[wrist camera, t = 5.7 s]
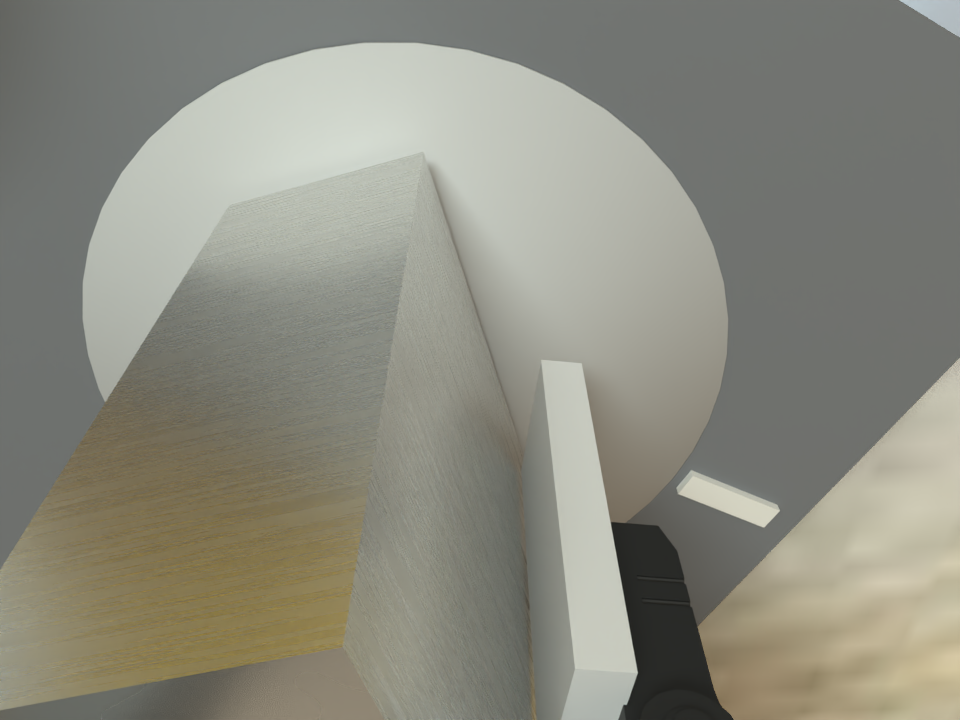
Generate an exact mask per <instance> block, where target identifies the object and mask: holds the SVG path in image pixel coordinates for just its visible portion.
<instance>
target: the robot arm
mask: <svg viewBox="0 0 960 720" xmlns="http://www.w3.org/2000/svg"><path fill="white" fill-rule="evenodd" d="M521 477H522V493H523V509H524V525H525V541H526V557H527V574H528V590H529V606H530V622H531V638H532V654H533V670H534V686H535V702H536V719H537V720H733V718H732V716H731V715H730V714H729V713H728V712H727V711H726V710H724V709H723V708H722V706H721V705H720V703H719V701H718V699H717V696H716V694H715V691H714V689H713V685H712V681H711V677H710V673H709V670H708V666H707V662H706V658H705V654H704V651H703V647H702V643H701V639H700V635H699V632H698V628H697V624H696V620H695V616H694V613H693V609H692V607H690V597H689V594H688V590H687V586H686V584H684V579H685V578H684V574H683V571H682V567H681V563H680V559H679V555H678V552H677V550H676V549H675V547H674V546H673V545H672V543H671V542H670V541H669V539H668V538H667V537H666V535H665V534H664V533H663V531H662V530H661V529H660V527H659V526H657V525H644V524H631V523H618V522H610V517H609V511H608V506H607V500H606V495H605V489H604V484H603V478H602V473H601V467H600V461H599V456H598V450H597V445H596V439H595V434H594V428H593V423H592V417H591V412H590V406H589V401H588V395H587V390H586V384H585V379H584V373H583V368H582V363H573V362H562V361H551V360H541V363H540V368H539V374H538V380H537V385H536V391H535V396H534V402H533V407H532V413H531V419H530V424H529V430H528V435H527V441H526V446H525V452H524V458H523V463H522V469H521Z"/></svg>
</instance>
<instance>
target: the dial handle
mask: <svg viewBox="0 0 960 720" xmlns="http://www.w3.org/2000/svg"><path fill="white" fill-rule="evenodd" d="M523 458H524V456H523V453H522V450H521V447H520V444H519V441H518V438H517V435H516V432H515V429H514V426H513V423H512V420H511V417H510V414H509V410H508V407H507V404H506V401H505V398H504V395H503V392H502V389H501V386H500V383H499V380H498V377H497V374H496V371H495V368H494V365H493V362H492V359H491V356H490V353H489V349H488V346H487V343H486V340H485V337H484V334H483V331H482V328H481V325H480V322H479V319H478V316H477V313H476V310H475V307H474V304H473V301H472V298H471V295H470V292H469V288H468V285H467V282H466V279H465V276H464V273H463V270H462V267H461V264H460V261H459V258H458V255H457V252H456V249H455V246H454V243H453V240H452V237H451V234H450V231H449V227H448V224H447V221H446V218H445V215H444V212H443V209H442V206H441V203H440V200H439V197H438V194H437V191H436V188H435V185H434V182H433V179H432V176H431V173H430V169H429V166H428V163H427V160H426V157H425V154H424V152H420V153H417V154H413V155H410V156H406V157H402V158H399V159H395V160H391V161H388V162H384V163H380V164H377V165H373V166H370V167H366V168H362V169H359V170H355V171H351V172H348V173H344V174H341V175H337V176H333V177H330V178H326V179H322V180H319V181H315V182H311V183H308V184H304V185H301V186H297V187H293V188H290V189H286V190H282V191H279V192H275V193H272V194H268V195H264V196H261V197H257V198H253V199H250V200H246V201H242V202H239V203H235V204H232V205H229V206H228V208H227V209H226V211H225V213H224V214H223V216H222V217H221V219H220V221H219V222H218V224H217V225H216V227H215V228H214V230H213V232H212V233H211V235H210V236H209V238H208V240H207V241H206V243H205V244H204V246H203V248H202V249H201V251H200V252H199V254H198V256H197V257H196V259H195V260H194V262H193V264H192V265H191V267H190V268H189V270H188V271H187V273H186V275H185V276H184V278H183V279H182V281H181V283H180V284H179V286H178V287H177V289H176V291H175V292H174V294H173V295H172V297H171V299H170V300H169V302H168V303H167V305H166V307H165V308H164V310H163V311H162V313H161V314H160V316H159V318H158V319H157V321H156V322H155V324H154V326H153V327H152V329H151V330H150V332H149V334H148V335H147V337H146V338H145V340H144V342H143V343H142V345H141V346H140V348H139V350H138V351H137V353H136V354H135V356H134V358H133V359H132V361H131V362H130V364H129V365H128V367H127V369H126V370H125V372H124V373H123V375H122V377H121V378H120V380H119V381H118V383H117V385H116V386H115V388H114V389H113V391H112V393H111V394H110V396H109V397H108V399H107V401H106V402H105V404H104V405H103V407H102V408H101V410H100V412H99V413H98V415H97V416H96V418H95V420H94V421H93V423H92V424H91V426H90V428H89V429H88V431H87V432H86V434H85V436H84V437H83V439H82V440H81V442H80V444H79V445H78V447H77V448H76V450H75V451H74V453H73V455H72V456H71V458H70V459H69V461H68V463H67V464H66V466H65V467H64V469H63V471H62V472H61V474H60V475H59V477H58V479H57V480H56V482H55V483H54V485H53V487H52V488H51V490H50V491H49V493H48V494H47V496H46V498H45V499H44V501H43V502H42V504H41V506H40V507H39V509H38V510H37V512H36V514H35V515H34V517H33V518H32V520H31V522H30V523H29V525H28V526H27V528H26V530H25V531H24V533H23V534H22V536H21V537H20V539H19V541H18V542H17V544H16V545H15V547H14V549H13V550H12V552H11V553H10V555H9V557H8V558H7V560H6V561H5V563H4V565H3V566H2V568H1V569H0V720H537V719H536V702H535V686H534V670H533V654H532V638H531V622H530V606H529V590H528V574H527V557H526V541H525V525H524V509H523V493H522V477H521V469H522V463H523Z"/></svg>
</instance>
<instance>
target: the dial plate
mask: <svg viewBox="0 0 960 720" xmlns="http://www.w3.org/2000/svg"><path fill="white" fill-rule="evenodd" d="M420 152H424V154H425V157H426V160H427V163H428V166H429V169H430V173H431V176H432V179H433V182H434V185H435V188H436V191H437V194H438V197H439V200H440V203H441V206H442V209H443V212H444V215H445V218H446V221H447V224H448V227H449V231H450V234H451V237H452V240H453V243H454V246H455V249H456V252H457V255H458V258H459V261H460V264H461V267H462V270H463V273H464V276H465V279H466V282H467V285H468V288H469V292H470V295H471V298H472V301H473V304H474V307H475V310H476V313H477V316H478V319H479V322H480V325H481V328H482V331H483V334H484V337H485V340H486V343H487V346H488V349H489V353H490V356H491V359H492V362H493V365H494V368H495V371H496V374H497V377H498V380H499V383H500V386H501V389H502V392H503V395H504V398H505V401H506V404H507V407H508V410H509V414H510V417H511V420H512V423H513V426H514V429H515V432H516V435H517V438H518V441H519V444H520V447H521V450H522V453H523V456H524V452H525V446H526V441H527V435H528V430H529V424H530V419H531V413H532V407H533V402H534V396H535V391H536V385H537V380H538V374H539V368H540V363H541V360H551V361H562V362H573V363H582V368H583V373H584V379H585V384H586V390H587V395H588V401H589V406H590V412H591V417H592V423H593V428H594V434H595V439H596V445H597V450H598V456H599V461H600V467H601V473H602V478H603V484H604V489H605V495H606V500H607V506H608V511H609V517H610V522H618V523H631V524H644V525H657V526H659V527H660V529H661V530H662V531H663V533H664V534H665V535H666V537H667V538H668V539H669V541H670V542H671V543H672V545H673V546H674V547H675V549H676V550H677V552H678V555H679V559H680V563H681V567H682V571H683V574H684V578H685V579H684V584H686V586H687V590H688V594H689V597H690V607H692V609H693V613H694V616H695V620H696V624H697V626H698V625H699V624H700V623H701V622H702V621H703V620H704V619H705V618H706V617H707V616H708V615H709V614H710V613H711V612H712V611H713V610H714V609H715V608H716V607H717V606H718V605H719V604H720V603H721V602H722V600H723V599H724V598H725V597H726V596H727V595H728V594H729V593H730V592H731V591H732V590H733V589H734V588H735V587H736V586H737V585H738V584H739V583H740V582H741V581H742V580H743V579H744V578H745V577H746V576H747V575H748V574H749V573H750V572H751V571H752V570H753V569H754V568H755V567H756V566H757V565H758V564H759V563H760V562H761V561H762V559H763V558H764V557H765V556H766V555H767V554H768V553H769V552H770V551H771V550H772V549H773V548H774V547H775V546H776V545H777V544H778V543H779V542H780V541H781V540H782V539H783V538H784V537H785V536H786V535H787V534H788V533H789V532H790V531H791V530H792V529H793V528H794V527H795V526H796V525H797V524H798V523H799V522H800V521H801V520H802V519H803V517H804V516H805V515H806V514H807V513H808V512H809V511H810V510H811V509H812V508H813V507H814V506H815V505H816V504H817V503H818V502H819V501H820V500H821V499H822V498H823V497H824V496H825V495H826V494H827V493H828V492H829V491H830V490H831V489H832V488H833V487H834V486H835V485H836V484H837V483H838V482H839V481H840V480H841V479H842V478H843V477H844V475H845V474H846V473H847V472H848V471H849V470H850V469H851V468H852V467H853V466H854V465H855V464H856V463H857V462H858V461H859V460H860V459H861V458H862V457H863V456H864V455H865V454H866V453H867V452H868V451H869V450H870V449H871V448H872V447H873V446H874V445H875V444H876V443H877V442H878V441H879V440H880V439H881V438H882V437H883V436H884V435H885V433H886V432H887V431H888V430H889V429H890V428H891V427H892V426H893V425H894V424H895V423H896V422H897V421H898V420H899V419H900V418H901V417H902V416H903V415H904V414H905V413H906V412H907V411H908V410H909V409H910V408H911V407H912V406H913V405H914V404H915V403H916V402H917V401H918V400H919V399H920V398H921V397H922V396H923V395H924V394H925V393H926V391H927V390H928V389H929V388H930V387H931V386H932V385H933V384H934V383H935V382H936V381H937V380H938V379H939V378H940V377H941V376H942V375H943V374H944V373H945V372H946V371H947V370H948V369H949V368H950V367H951V366H952V365H953V364H954V363H955V362H956V361H957V360H958V359H959V358H960V38H959V37H958V36H956V35H954V34H953V33H951V32H950V31H948V30H946V29H945V28H943V27H941V26H940V25H938V24H937V23H935V22H933V21H932V20H930V19H928V18H927V17H925V16H924V15H922V14H920V13H919V12H917V11H915V10H914V9H912V8H911V7H909V6H907V5H906V4H904V3H902V2H901V1H899V0H0V569H1V568H2V566H3V565H4V563H5V561H6V560H7V558H8V557H9V555H10V553H11V552H12V550H13V549H14V547H15V545H16V544H17V542H18V541H19V539H20V537H21V536H22V534H23V533H24V531H25V530H26V528H27V526H28V525H29V523H30V522H31V520H32V518H33V517H34V515H35V514H36V512H37V510H38V509H39V507H40V506H41V504H42V502H43V501H44V499H45V498H46V496H47V494H48V493H49V491H50V490H51V488H52V487H53V485H54V483H55V482H56V480H57V479H58V477H59V475H60V474H61V472H62V471H63V469H64V467H65V466H66V464H67V463H68V461H69V459H70V458H71V456H72V455H73V453H74V451H75V450H76V448H77V447H78V445H79V444H80V442H81V440H82V439H83V437H84V436H85V434H86V432H87V431H88V429H89V428H90V426H91V424H92V423H93V421H94V420H95V418H96V416H97V415H98V413H99V412H100V410H101V408H102V407H103V405H104V404H105V402H106V401H107V399H108V397H109V396H110V394H111V393H112V391H113V389H114V388H115V386H116V385H117V383H118V381H119V380H120V378H121V377H122V375H123V373H124V372H125V370H126V369H127V367H128V365H129V364H130V362H131V361H132V359H133V358H134V356H135V354H136V353H137V351H138V350H139V348H140V346H141V345H142V343H143V342H144V340H145V338H146V337H147V335H148V334H149V332H150V330H151V329H152V327H153V326H154V324H155V322H156V321H157V319H158V318H159V316H160V314H161V313H162V311H163V310H164V308H165V307H166V305H167V303H168V302H169V300H170V299H171V297H172V295H173V294H174V292H175V291H176V289H177V287H178V286H179V284H180V283H181V281H182V279H183V278H184V276H185V275H186V273H187V271H188V270H189V268H190V267H191V265H192V264H193V262H194V260H195V259H196V257H197V256H198V254H199V252H200V251H201V249H202V248H203V246H204V244H205V243H206V241H207V240H208V238H209V236H210V235H211V233H212V232H213V230H214V228H215V227H216V225H217V224H218V222H219V221H220V219H221V217H222V216H223V214H224V213H225V211H226V209H227V208H228V206H229V205H232V204H235V203H239V202H242V201H246V200H250V199H253V198H257V197H261V196H264V195H268V194H272V193H275V192H279V191H282V190H286V189H290V188H293V187H297V186H301V185H304V184H308V183H311V182H315V181H319V180H322V179H326V178H330V177H333V176H337V175H341V174H344V173H348V172H351V171H355V170H359V169H362V168H366V167H370V166H373V165H377V164H380V163H384V162H388V161H391V160H395V159H399V158H402V157H406V156H410V155H413V154H417V153H420Z"/></svg>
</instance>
